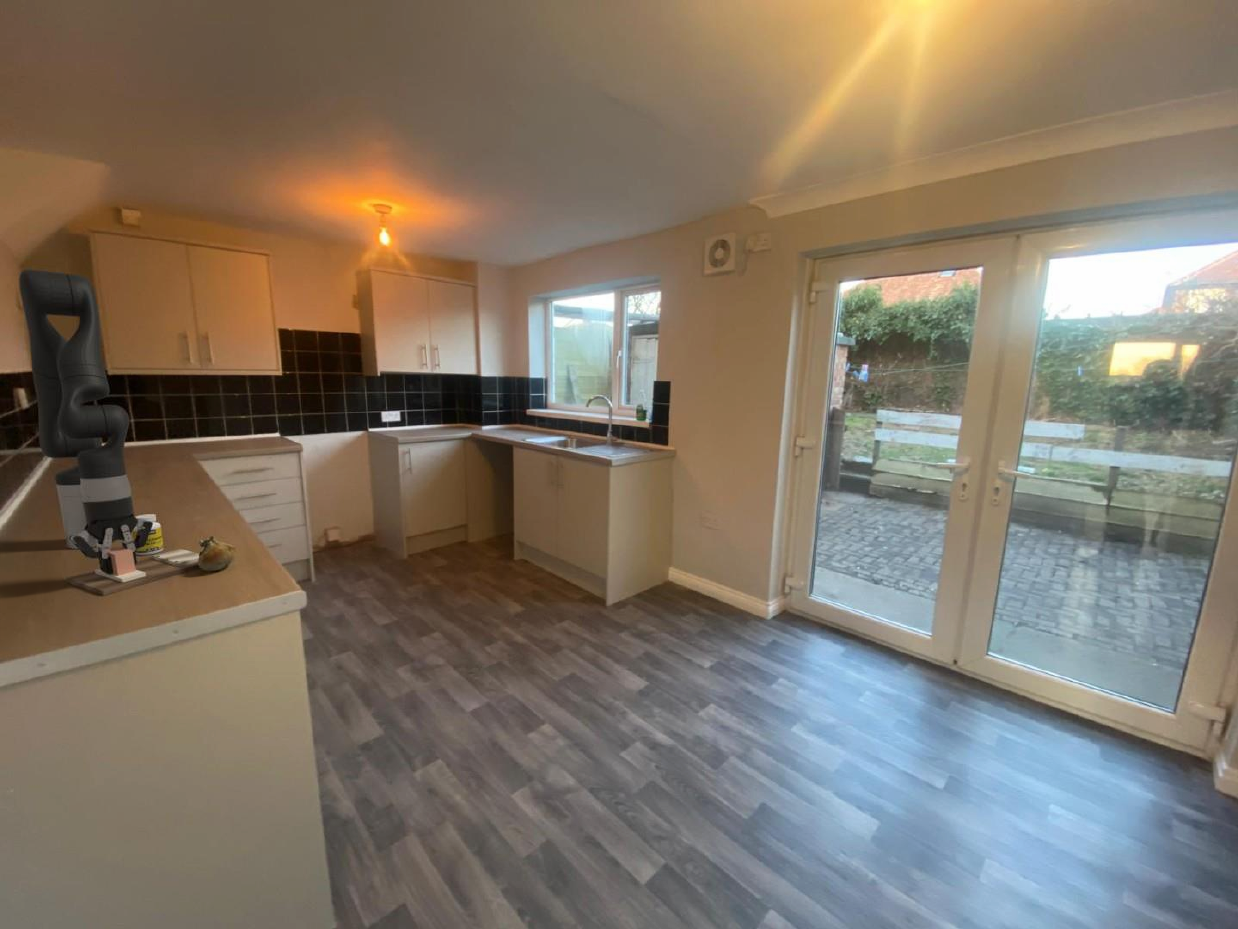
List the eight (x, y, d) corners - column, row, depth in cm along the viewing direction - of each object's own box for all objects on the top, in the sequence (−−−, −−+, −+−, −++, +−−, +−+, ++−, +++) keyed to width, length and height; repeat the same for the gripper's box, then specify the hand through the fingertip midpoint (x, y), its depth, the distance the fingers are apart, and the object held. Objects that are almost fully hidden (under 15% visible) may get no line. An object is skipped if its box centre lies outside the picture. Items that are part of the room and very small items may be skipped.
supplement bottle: (146, 556, 126) (140, 519, 124) (130, 554, 127) (124, 518, 125) (169, 549, 131) (164, 514, 129) (153, 548, 132) (148, 512, 130)
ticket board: (67, 582, 109) (66, 574, 109) (176, 554, 128) (175, 547, 127) (104, 595, 103) (102, 587, 103) (213, 564, 121) (212, 556, 121)
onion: (192, 578, 113) (187, 544, 112) (203, 566, 120) (199, 534, 119) (233, 573, 116) (228, 540, 115) (241, 561, 123) (238, 531, 122)
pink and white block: (95, 573, 112) (91, 549, 111) (118, 567, 116) (114, 544, 115) (122, 582, 107) (118, 557, 106) (146, 576, 111) (142, 551, 110)
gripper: (138, 488, 116) (149, 558, 119) (53, 501, 103) (67, 579, 106) (156, 491, 113) (167, 562, 116) (70, 505, 101) (85, 585, 104)
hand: (119, 570), depth 111 cm, fingers closed on pink and white block, 3 cm apart
